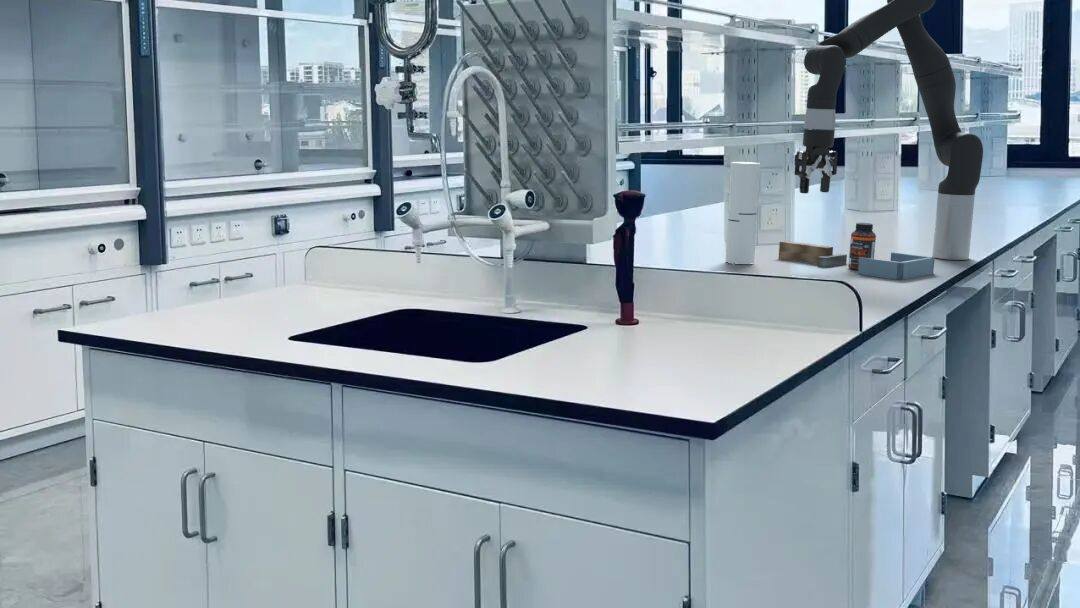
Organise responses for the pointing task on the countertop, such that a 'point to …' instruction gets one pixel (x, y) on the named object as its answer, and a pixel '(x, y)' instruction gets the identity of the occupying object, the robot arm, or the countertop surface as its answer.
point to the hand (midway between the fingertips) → (814, 192)
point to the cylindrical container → (742, 212)
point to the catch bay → (897, 266)
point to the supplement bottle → (861, 244)
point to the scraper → (810, 254)
